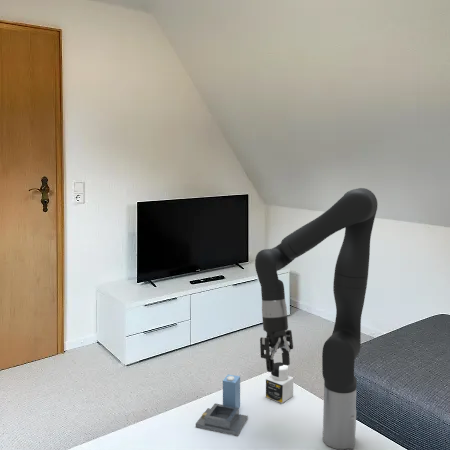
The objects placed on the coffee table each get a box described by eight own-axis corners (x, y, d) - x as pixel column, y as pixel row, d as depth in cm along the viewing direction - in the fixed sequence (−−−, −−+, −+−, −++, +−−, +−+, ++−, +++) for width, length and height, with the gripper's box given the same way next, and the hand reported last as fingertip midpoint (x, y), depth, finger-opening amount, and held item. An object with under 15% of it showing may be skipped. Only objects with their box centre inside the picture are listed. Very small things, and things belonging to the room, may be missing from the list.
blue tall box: (240, 407, 162) (240, 374, 160) (235, 414, 157) (235, 380, 156) (228, 404, 163) (227, 372, 162) (222, 412, 159) (222, 378, 157)
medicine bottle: (265, 397, 168) (265, 365, 167) (276, 390, 174) (277, 358, 172) (282, 404, 164) (282, 370, 162) (293, 396, 169) (294, 364, 167)
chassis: (247, 419, 154) (247, 408, 154) (237, 435, 145) (237, 424, 144) (207, 411, 159) (207, 401, 158) (195, 427, 150) (195, 416, 149)
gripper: (271, 318, 137) (276, 375, 136) (297, 311, 148) (301, 364, 147) (250, 317, 142) (254, 372, 141) (277, 310, 153) (281, 361, 152)
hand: (278, 368), depth 144 cm, fingers open, 8 cm apart
